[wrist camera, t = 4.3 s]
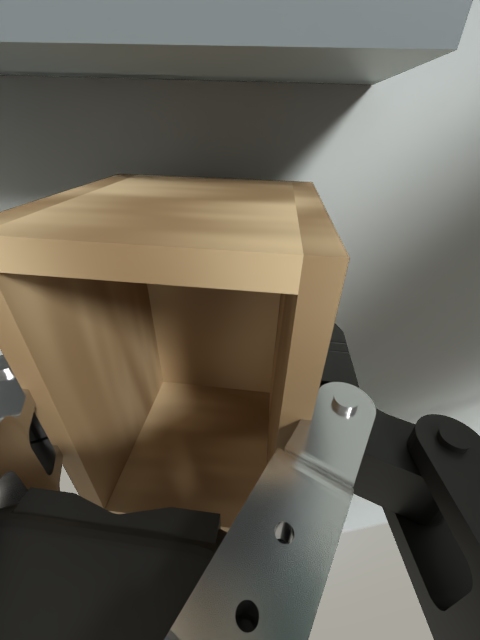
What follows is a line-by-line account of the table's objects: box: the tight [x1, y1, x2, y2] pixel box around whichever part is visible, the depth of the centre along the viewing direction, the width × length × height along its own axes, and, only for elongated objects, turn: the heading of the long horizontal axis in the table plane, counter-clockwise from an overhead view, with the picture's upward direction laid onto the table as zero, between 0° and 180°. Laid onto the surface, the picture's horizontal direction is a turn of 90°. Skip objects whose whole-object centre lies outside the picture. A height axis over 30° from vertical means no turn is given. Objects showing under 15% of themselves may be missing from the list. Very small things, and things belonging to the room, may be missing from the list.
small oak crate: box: [0, 174, 350, 532], centre depth 9 cm, size 6×9×6 cm, turn 178°
